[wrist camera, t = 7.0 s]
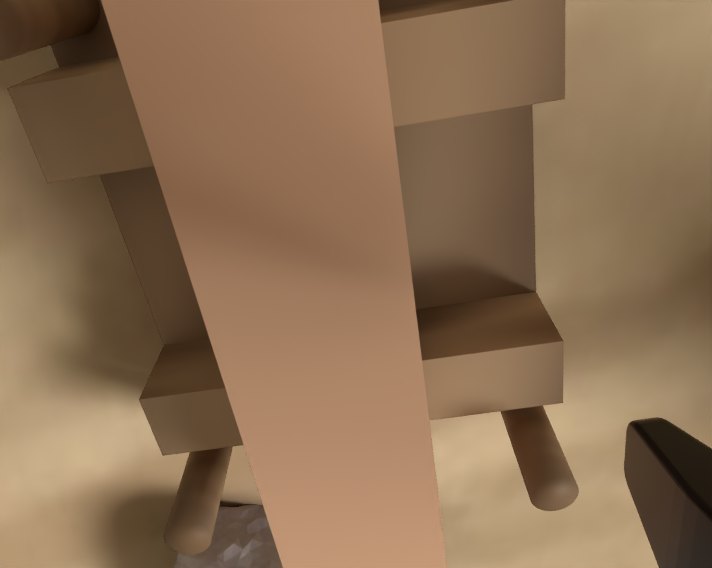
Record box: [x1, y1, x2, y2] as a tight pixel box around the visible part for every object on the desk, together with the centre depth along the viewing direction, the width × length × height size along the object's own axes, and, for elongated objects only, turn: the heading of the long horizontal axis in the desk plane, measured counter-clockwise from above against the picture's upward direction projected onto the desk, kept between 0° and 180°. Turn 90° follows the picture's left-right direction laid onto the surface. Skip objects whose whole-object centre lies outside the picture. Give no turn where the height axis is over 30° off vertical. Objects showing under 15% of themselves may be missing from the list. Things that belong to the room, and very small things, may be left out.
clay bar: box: [101, 0, 447, 568], centre depth 12 cm, size 14×4×4 cm, turn 9°
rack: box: [0, 0, 579, 554], centre depth 15 cm, size 11×14×5 cm
